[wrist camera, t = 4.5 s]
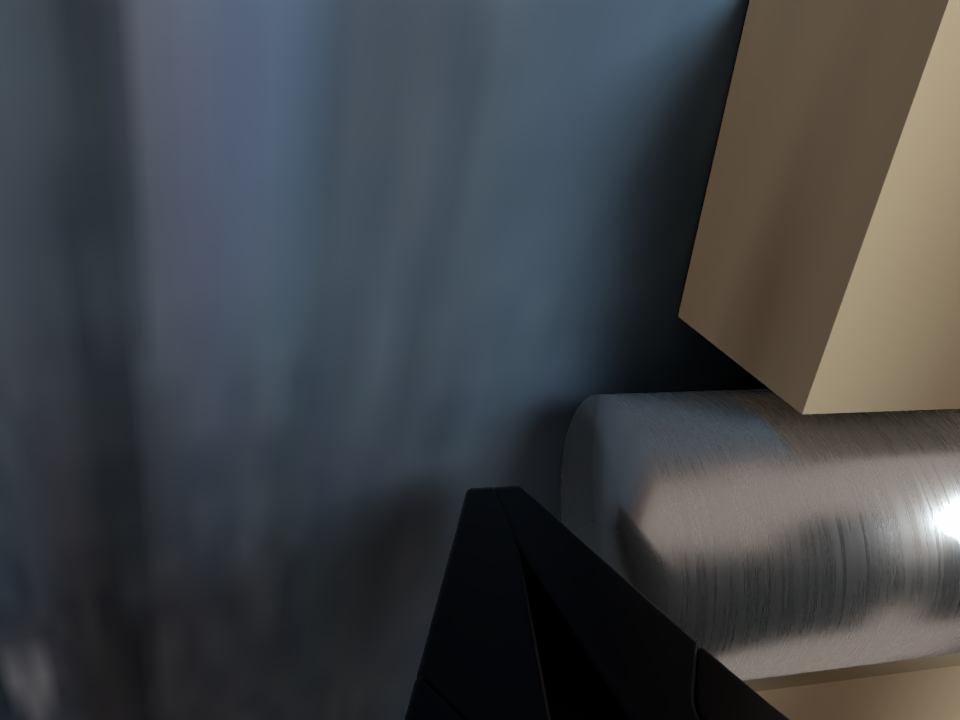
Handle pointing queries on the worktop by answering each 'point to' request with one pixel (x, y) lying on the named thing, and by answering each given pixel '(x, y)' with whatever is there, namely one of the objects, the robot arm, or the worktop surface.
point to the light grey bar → (775, 523)
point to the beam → (841, 254)
